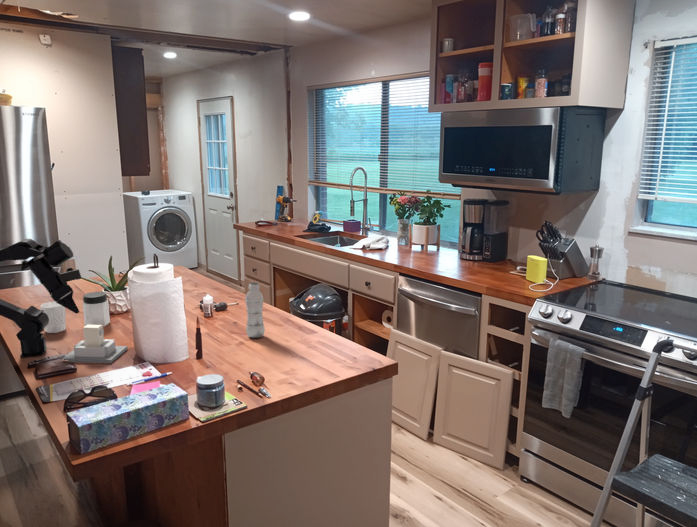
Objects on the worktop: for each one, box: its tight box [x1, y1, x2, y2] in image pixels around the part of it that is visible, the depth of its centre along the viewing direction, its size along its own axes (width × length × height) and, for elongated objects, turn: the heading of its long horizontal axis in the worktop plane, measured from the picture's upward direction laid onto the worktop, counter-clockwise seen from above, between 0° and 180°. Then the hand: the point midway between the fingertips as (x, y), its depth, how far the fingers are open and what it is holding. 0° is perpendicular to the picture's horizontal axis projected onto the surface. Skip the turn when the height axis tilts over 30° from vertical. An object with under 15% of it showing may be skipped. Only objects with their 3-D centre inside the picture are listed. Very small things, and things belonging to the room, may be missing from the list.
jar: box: [82, 291, 111, 328], centre depth 211 cm, size 9×8×12 cm
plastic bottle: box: [244, 282, 266, 339], centre depth 200 cm, size 6×7×20 cm
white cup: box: [40, 301, 67, 334], centre depth 205 cm, size 8×8×10 cm
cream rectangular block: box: [82, 324, 105, 347], centre depth 181 cm, size 6×3×9 cm, turn 87°
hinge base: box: [61, 338, 128, 364], centre depth 182 cm, size 16×12×4 cm
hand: (77, 311), depth 184 cm, fingers open, 9 cm apart
